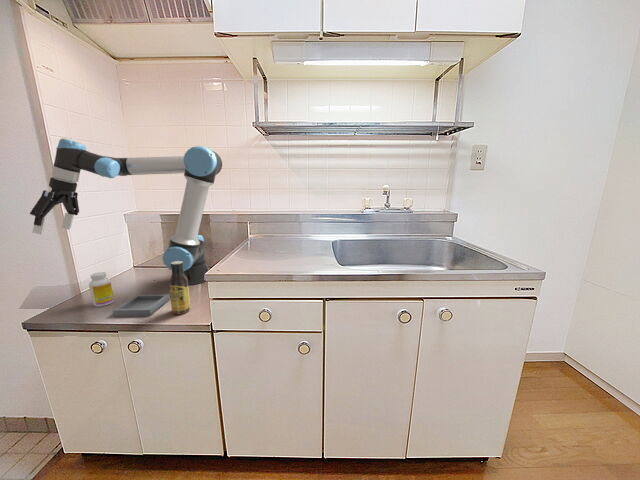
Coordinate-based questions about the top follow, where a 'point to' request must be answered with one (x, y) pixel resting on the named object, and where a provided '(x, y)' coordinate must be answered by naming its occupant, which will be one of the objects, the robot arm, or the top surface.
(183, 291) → the sauce bottle
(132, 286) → the top surface
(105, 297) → the supplement bottle
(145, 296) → the tray
